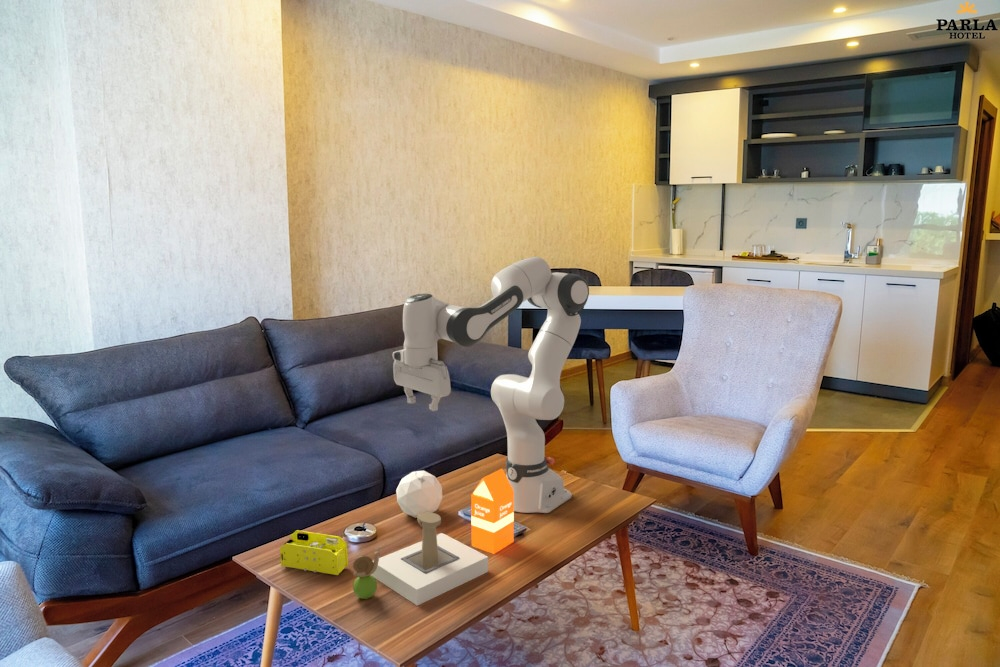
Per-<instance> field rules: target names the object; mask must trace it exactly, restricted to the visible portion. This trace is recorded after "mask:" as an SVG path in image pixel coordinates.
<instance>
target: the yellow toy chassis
mask: <svg viewBox="0 0 1000 667" xmlns="http://www.w3.org/2000/svg"><path fill="white" fill-rule="evenodd" d="M289 537H290V539H289V540H287V541H286V542H285V543H283V545H281V546H280V547H279V552H280V566H281V567H285V568H286V567H287V568H292V569H293V568H294V569H298V570H304V572H306V571H309V572H311V571H312V572H313V573H314V574H316V573H321V574H329V575H334V576H339V574H341V573H342V571H343V570H344V569H346V567H348V566H349V558H348V557H349V556H348V543H347V542H346V541H345V540H344V539H343V538H342V537H341V536H338V535H337V536H336V535H330V534H324V533H319V532H313V531H305V530H298V529H297V530H295V531H294V532H293V533H291V534H290V536H289Z"/></svg>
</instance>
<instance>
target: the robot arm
mask: <svg viewBox="0 0 1000 667" xmlns="http://www.w3.org/2000/svg"><path fill="white" fill-rule="evenodd" d="M490 290H491V295H492V298H490V299H489V300H488V301H486V302H484V303H483V304H482V305H479V306H476V307H468V306H467V307H466V306H460V305H456V304H451V303H448V302H444V301H442V300H440V299H438V298H436V297H434V295H433V294H431V293H417V294H414V295H411V296H409V297H407V298H406V299H405V301H404V304H403V309H402V331H403V334H404V342H403V349H400V350H396V351H393V352H392V353H391V355H392V360H394V361H393V365H392V371H393V380H394V383H395V384H396V385H397V386H400V387H403V391H404V393H405V395H406V399H407V400H406V401H407V402H406V403H407V404H411V405H412V404H416V402H417V401H416V398H417V397H416V396H415V395H414V392H413V390H414V391H418V392H420V393H424V394H428V395H430V398H431V403H429V404H428V407H429V408H428V409H429V410H430V411H432V412H436V411H438V409H439V403H440V401H441V398H444V397H447V396H450V394H451V392H452V389H451V378H450V372H449V370H448V366H446V364H445V363H444V361H442V360H439V358H438V356H439V355H438V352H439V351H438V341H439V340H441V339H442V340H445V341H448V342H451V343H455V344H457V345H460V347H461V346H462V347H464V348H465V347H467V348H468V347H469V348H470V347H474V346H475V345H477V344H478V343H480V342H481V341H482V340H483V339H484V337H485V336H486V335H487V333H489V331H490V330H491V329H492V328H493V327H494V326H496V325H498V324H499V323H500V322H501V321H502V320H504V319H506V318H507V317H508V316H509V315H511V314H512V313H513V312H515V311H517V309H519V307H520V306H521V305H522V303H524V302H525V301H528V303H530V305H532V306H533V307H535V308H540V309H541V308H542V309H547V313H546V314H547V315H546V319H545V320H544V322H543V324H542V325H541V327H540V329H539V331H538V333H537V335H536V337H535V339H534V340H533V342H532V344H531V346H530V349H529V351H528V353H527V358H528V361H529V362H530V364H531V366H532V367H531V372H530V374H529V377H526V376H524V375H523V376H522V375H519V374H514V373H512V374H511V373H510V374H509V373H506V374H500V375H498V376H497V377H495V379H494V381H493V382H492V384H491V388H490V396H491V399H492V401H493V403H494V404H495V405H496V406H497V408H498V409H499V412H500V414H501V417H502V420H503V423H504V426H505V430H506V437H507V457H506V462H505V467H506V468H505V471H506V473H505V475H506V477H507V479H508V481H509V483H510V485H511V487H512V489H513V491H514V512H517V513H525V514H526V513H527V514H529V513H543V514H547V513H550V512H552V511H553V510H555V509H556V508H558V507H559V506H561V505H562V504H564V503H565V502H567V501H568V500H570V499H571V498H572V497H573V496H572V493H571V491H570V490H567V489H566V488H565V484H564V480H563V478H562V477H561V476H560V475H559V474H558V473H557V472H555V471H553V470H552V469H551V468H549V465H551V466H552V465H554V463H555V460H556V459H555V458H553V457H551V456H548V457H546V456H545V451H546V448H545V447H546V445H545V444H546V438H545V436H546V435H545V432H544V431H543V429H542V427H541V426H540V425H539V423H538V422H537V420H540V421H542V420H543V421H552V420H555V419H557V418H558V417H559V416H560V415H561V414H562V412H563V410H564V406H565V397H564V393H563V391H562V389H561V384H560V383H561V382H560V381H561V375H562V371H563V367H564V365H565V363H566V361H567V358H568V357H569V355H570V352H571V350H572V348H573V346H574V344H575V342H576V339H577V337H578V334H579V331H580V329H581V328H580V327H581V323H582V319H581V316H580V314H581V313H582V312H583V310H584V308H585V306H586V304H587V302H588V299H589V296H590V288H589V283H588V281H587V280H586V278H584V276H581V275H579V274H576V273H566V272H556V271H555V272H552V270H551V267H550V265H549V264H548V262H547V261H546V260H545V259H543V258H541V257H539V256H531V257H528V258H525V259H521V260H518V261H515V262H514V263H511V264H510V265H508V266H506V267H504V268H502V269H501V270H499V271H498V272H497V273H496V274H495V275H493V277H492V279H491V282H490Z"/></svg>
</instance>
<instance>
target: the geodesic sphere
mask: <svg viewBox="0 0 1000 667" xmlns="http://www.w3.org/2000/svg"><path fill="white" fill-rule="evenodd" d="M395 493H396V501H397V503H398V505H399V507H400V509H401V511H402V512H403V513H405V514H407V515H408V516H410V517H412V518H414V519H416V518H417V515H418V514H420V513H423V512H432V513H434V512H436V511H437V510H438V509H439V507H440V504H441V502H442V500H443V499H444V498H443V488H442V485H441V482H439V480H438V479H437V477H436V476H435V475H433V474H431V473H429V472H428V471H426V470H425V469H423V470H415V471H411V472H409V474H407V475H405V476H403V477H402V478H401V480H400V481H399V484H398V486H397V488H396V490H395Z"/></svg>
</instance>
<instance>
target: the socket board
mask: <svg viewBox="0 0 1000 667" xmlns="http://www.w3.org/2000/svg"><path fill="white" fill-rule="evenodd" d="M436 535H437V548H438V564H437V566H434V567H432V568H430V569H428V570H425V569H423V564H422V540H421V541H418V542H415V543H413V544H411V545H408V546H406V547H403V548H400V549H398V550H396V551H393V552H391V553H389V554H386V555H384V556H382V557H381V556H380V557H379V562H378V566H377V569H376V570H375V572H374V573H372V574H371V576H373V577H374V578H375V580H376V581H378V582H380V583H382V584H383V585H384V586H386V587H388V588H389V589H391V590H393V591H394V592H395V593H397V594H398V595H399V596H402V597H403V598H404V599H406V600H407V601H409V602H411V603H412V604H414V605H415V606H419V605H422V604H424V603H426V602H429V601H430V600H432V599H434V598H436V597H438V596H441V595H443V594H444V593H446V592H448V591H451V590H453V589H455V588H457V587H459V586H462V585H464V584H465V583H468V582H470V581H472V580H474V579H476V578H478V577H481V576H482V575H484V574H487V573H489V556H487V555H486V554H484V553H482V552H480V551H478V550H476V549H474V548H472V547H470V546H468V545H466V544H465V543H463V542H460V541H459V540H457V539H455V538H452V537H451V536H450V535H447V534H445V533H443V532H440V533H438V534H436ZM372 561H373V562H374V560H372Z"/></svg>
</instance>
